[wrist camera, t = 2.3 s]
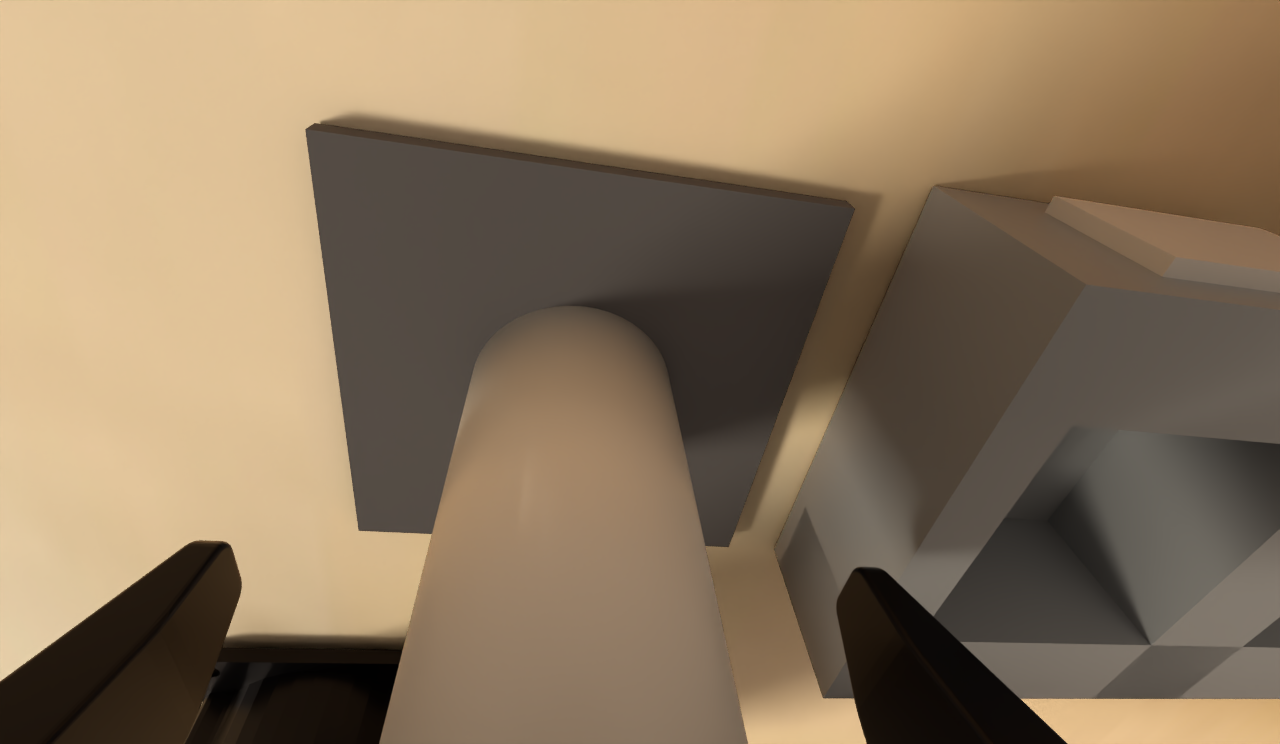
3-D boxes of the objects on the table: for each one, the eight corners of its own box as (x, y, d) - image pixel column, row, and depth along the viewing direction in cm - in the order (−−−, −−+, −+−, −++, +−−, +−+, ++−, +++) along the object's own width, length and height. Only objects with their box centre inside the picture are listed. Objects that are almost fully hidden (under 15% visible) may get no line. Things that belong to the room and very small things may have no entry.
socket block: (774, 549, 16) (823, 698, 13) (940, 169, 11) (1100, 262, 7) (1254, 570, 19) (1395, 698, 16) (1592, 273, 13) (1921, 376, 10)
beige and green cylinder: (470, 458, 13) (331, 1105, 6) (472, 294, 11) (253, 1002, 4) (650, 469, 14) (734, 1065, 6) (686, 317, 12) (880, 955, 4)
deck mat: (363, 517, 14) (358, 530, 14) (314, 123, 9) (305, 128, 9) (725, 534, 16) (728, 547, 16) (846, 200, 11) (855, 208, 11)
